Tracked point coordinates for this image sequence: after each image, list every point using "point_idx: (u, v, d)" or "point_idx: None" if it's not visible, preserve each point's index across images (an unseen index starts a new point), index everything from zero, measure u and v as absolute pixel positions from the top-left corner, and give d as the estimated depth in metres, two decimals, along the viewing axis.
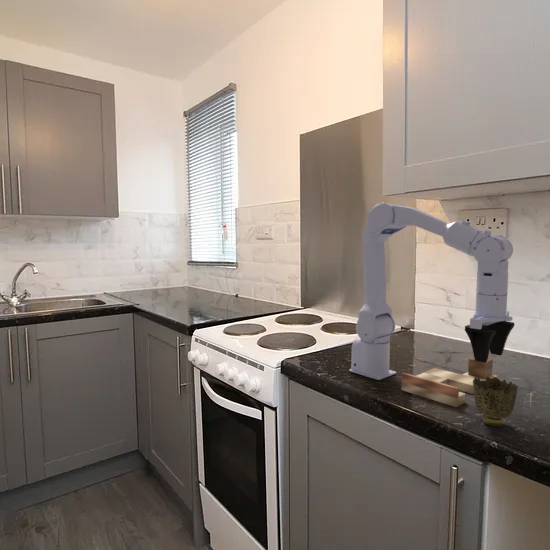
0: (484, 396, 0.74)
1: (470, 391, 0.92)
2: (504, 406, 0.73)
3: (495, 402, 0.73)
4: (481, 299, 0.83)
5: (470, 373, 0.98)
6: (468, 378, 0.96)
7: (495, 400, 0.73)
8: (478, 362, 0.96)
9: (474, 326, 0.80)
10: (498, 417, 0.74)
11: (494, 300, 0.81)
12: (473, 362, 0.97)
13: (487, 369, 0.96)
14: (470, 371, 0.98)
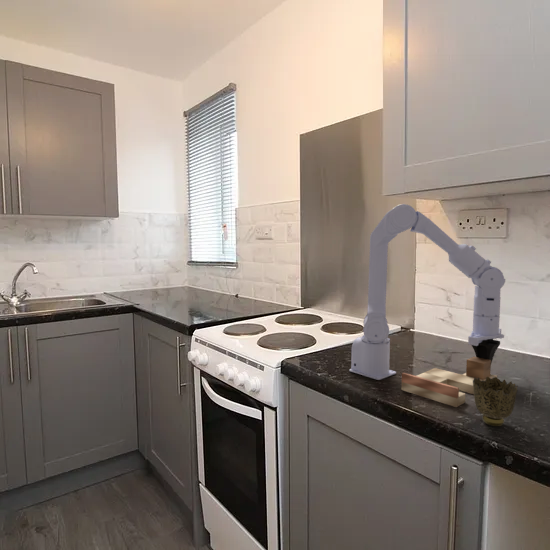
0: (484, 396, 0.74)
1: (470, 391, 0.92)
2: (504, 406, 0.73)
3: (495, 402, 0.73)
4: (477, 319, 0.97)
5: (468, 374, 0.97)
6: (468, 378, 0.96)
7: (495, 400, 0.73)
8: (476, 363, 0.95)
9: (472, 343, 0.94)
10: (498, 417, 0.74)
11: (488, 320, 0.96)
12: (471, 363, 0.96)
13: (485, 370, 0.95)
14: (468, 372, 0.97)
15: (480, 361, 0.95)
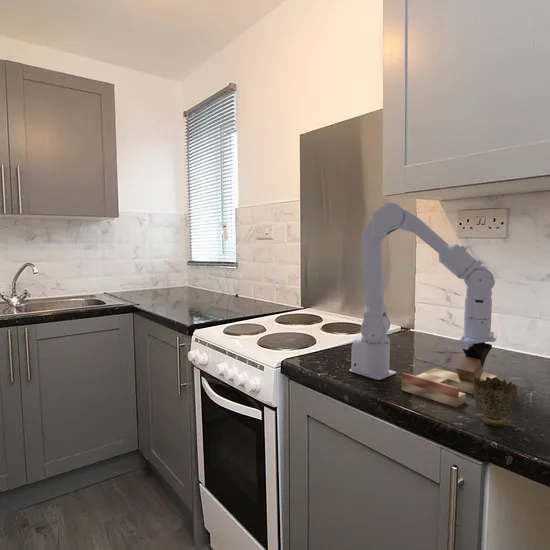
0: (484, 396, 0.74)
1: (470, 391, 0.92)
2: (504, 406, 0.73)
3: (495, 402, 0.73)
4: (468, 322, 0.94)
5: (461, 378, 0.94)
6: None
7: (495, 400, 0.73)
8: (466, 371, 0.92)
9: (462, 347, 0.91)
10: (498, 417, 0.74)
11: (479, 323, 0.92)
12: (461, 370, 0.92)
13: (476, 375, 0.91)
14: (460, 377, 0.94)
15: (469, 369, 0.91)
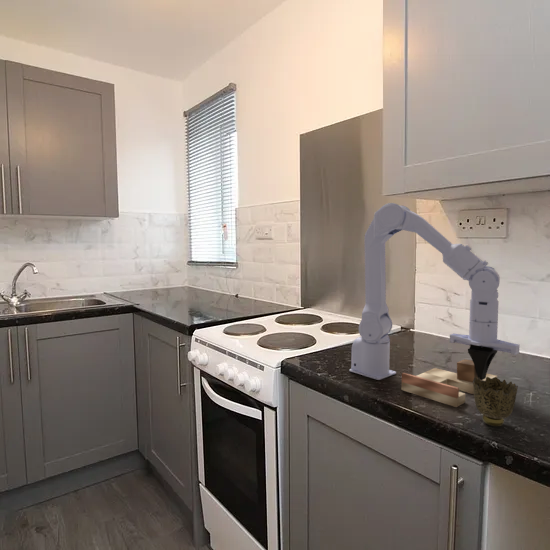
0: (484, 396, 0.74)
1: (470, 391, 0.92)
2: (504, 406, 0.73)
3: (495, 402, 0.73)
4: None
5: (459, 377, 0.95)
6: None
7: (495, 400, 0.73)
8: (466, 365, 0.93)
9: None
10: (498, 417, 0.74)
11: (469, 323, 0.92)
12: (462, 365, 0.94)
13: (476, 373, 0.93)
14: (459, 375, 0.95)
15: (470, 364, 0.93)
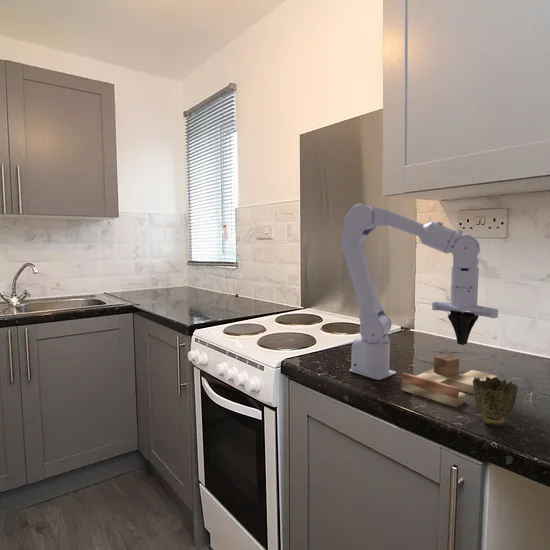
0: (484, 396, 0.74)
1: (470, 391, 0.92)
2: (504, 406, 0.73)
3: (495, 402, 0.73)
4: None
5: (435, 371, 1.00)
6: (468, 378, 0.96)
7: (495, 400, 0.73)
8: (442, 360, 0.98)
9: None
10: (498, 417, 0.74)
11: (451, 290, 0.95)
12: (438, 360, 0.99)
13: (450, 368, 0.97)
14: (435, 369, 1.00)
15: (445, 359, 0.98)
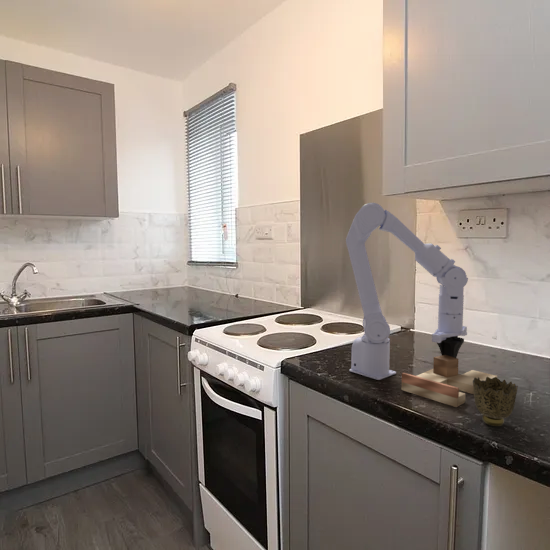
0: (484, 396, 0.74)
1: (470, 391, 0.92)
2: (504, 406, 0.73)
3: (495, 402, 0.73)
4: (442, 317, 1.00)
5: (435, 371, 0.99)
6: (468, 378, 0.96)
7: (495, 400, 0.73)
8: (441, 361, 0.97)
9: (435, 340, 0.97)
10: (498, 417, 0.74)
11: (452, 318, 0.98)
12: (437, 360, 0.98)
13: (449, 368, 0.97)
14: (435, 369, 0.99)
15: (445, 359, 0.97)
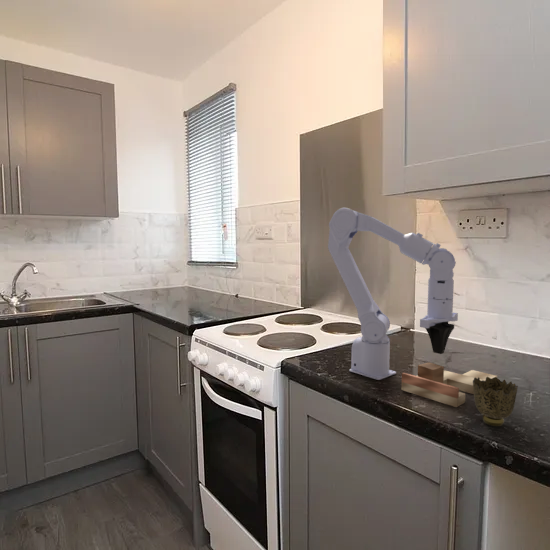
0: (484, 396, 0.74)
1: (470, 391, 0.92)
2: (504, 406, 0.73)
3: (495, 402, 0.73)
4: (431, 302, 0.97)
5: None
6: (468, 378, 0.96)
7: (495, 400, 0.73)
8: (426, 369, 0.91)
9: (423, 325, 0.94)
10: (498, 417, 0.74)
11: (441, 303, 0.95)
12: (422, 368, 0.92)
13: (435, 377, 0.91)
14: None
15: (430, 367, 0.91)
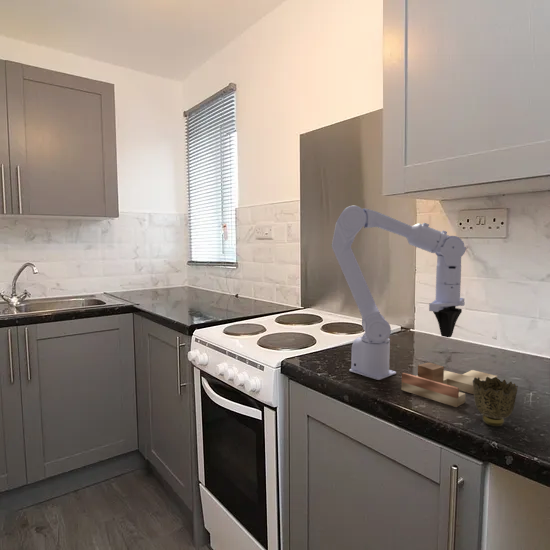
0: (484, 396, 0.74)
1: (470, 391, 0.92)
2: (504, 406, 0.73)
3: (495, 402, 0.73)
4: (439, 287, 1.00)
5: None
6: (468, 378, 0.96)
7: (495, 400, 0.73)
8: (426, 369, 0.91)
9: (432, 309, 0.97)
10: (498, 417, 0.74)
11: (449, 288, 0.99)
12: (422, 368, 0.92)
13: (435, 377, 0.91)
14: None
15: (430, 367, 0.91)
